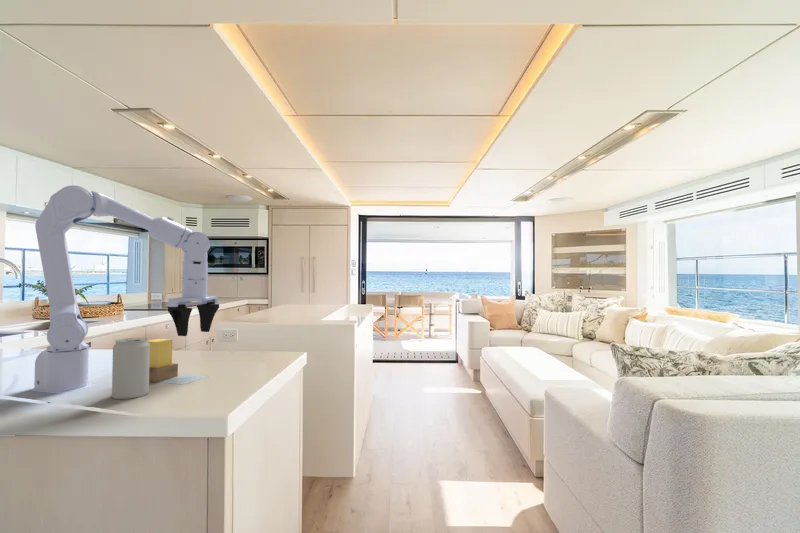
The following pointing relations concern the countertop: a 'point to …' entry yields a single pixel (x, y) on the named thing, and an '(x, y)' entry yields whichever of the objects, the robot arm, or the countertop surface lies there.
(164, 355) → the ochre brick
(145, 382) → the beverage can
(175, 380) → the plate
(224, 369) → the countertop surface
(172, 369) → the walnut base brick
